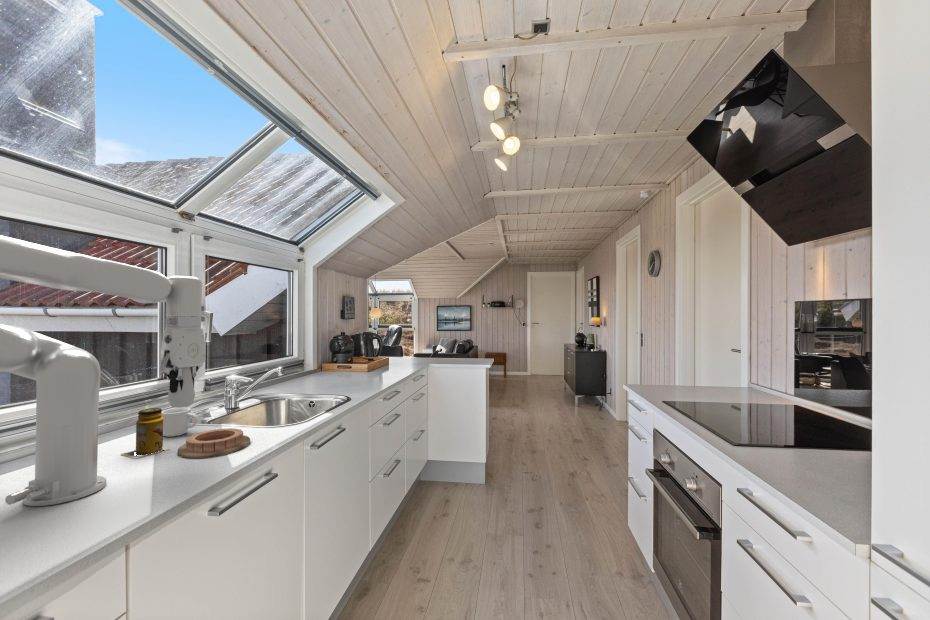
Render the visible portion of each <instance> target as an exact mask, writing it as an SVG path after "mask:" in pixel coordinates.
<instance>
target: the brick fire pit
mask: <svg viewBox="0 0 930 620" xmlns="http://www.w3.org/2000/svg"><path fill="white" fill-rule="evenodd" d="M250 444H251V438H250V437H249V436H247V435H244V431H243V430H242V429H239V428H232V427H231V428H217V429H211V430H210V429H209V430H204V431H201V432H198V433H194V434H192V435H189V436H188V437H187V438H186V439H185V443H184V444H182V445H180V446H179V447H178V448H177V456H178V455H179V457H180V456H181V457H180V458H184V459H194V460H195V459H208V457H210V458H215V457H214V456H216V457H221V456H220V455H222V456H225V455H224V454H226V455H228V454H229V453H230V454H233V453H236V452H240V451H242V450H244V449H245V448H247V447H248V446H249V445H250ZM246 446H247V447H246ZM232 452H233V453H232Z"/></svg>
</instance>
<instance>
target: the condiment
mask: <svg viewBox="0 0 930 620" xmlns="http://www.w3.org/2000/svg"><path fill="white" fill-rule="evenodd" d="M162 411H163V409H162V408H160V407H151V408H145V409H141V410H139V411H138V412H137V413H138V416H137V418H138V420H137V421H136V424H135V425H136V426H135V431H136V432H135V449H134V450H132V451H128V452H124V453H121V454H120V455H121V456H123V457H127V456H128V457H127V458H131V459H135V460H137V459H139V458H143V457H146V456H151V455H152V454H151V453H155V452H157V453H155V454H158V453H159V452H158V451H161V450H163V448H165V449H167V450H165V449H164V450H165V451H168V450H170V448H168V447H164V445H163V444H164V435H163V417H162ZM134 452H136V454H137V455H143V456H137V455H136V456H134ZM146 454H149V455H146Z"/></svg>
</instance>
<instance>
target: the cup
mask: <svg viewBox="0 0 930 620" xmlns="http://www.w3.org/2000/svg"><path fill="white" fill-rule="evenodd" d="M191 410H192V409H191V408H190V407H171V408H168V409H165V410H164V409H163V410H162V417H163V437H166V438H167V437H168V438H170V437H179V436H182V435H185V434H186V433H187V432H188V431H189V429H192V428H194V427H196V426H197V425H198V422H199V417H198V415H197V414H196V413H194V412H192V411H191ZM191 417H192V418H193V424H191V422H190V419H191Z"/></svg>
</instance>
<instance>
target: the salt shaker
mask: <svg viewBox="0 0 930 620" xmlns="http://www.w3.org/2000/svg"><path fill="white" fill-rule="evenodd" d="M174 371H175V372H177V370H174ZM181 380H183V387H182V392H181V388H180V382H179V384H178V390H177V392H176V393H171V392H170V391H169V390H168V393H167V398H166V399H167V402H168V403H169V404H170V406H171V408H187V407H189V406H191V405H192V404H193V402H194V399H195V397H196V392H195V384H194V385H193V380H192V374H191V369H190V367H185V368H182V378H181Z"/></svg>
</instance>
